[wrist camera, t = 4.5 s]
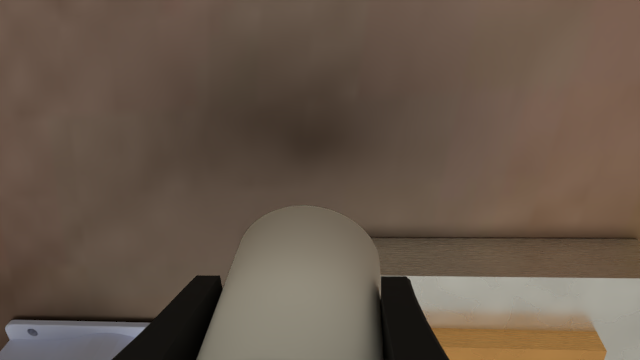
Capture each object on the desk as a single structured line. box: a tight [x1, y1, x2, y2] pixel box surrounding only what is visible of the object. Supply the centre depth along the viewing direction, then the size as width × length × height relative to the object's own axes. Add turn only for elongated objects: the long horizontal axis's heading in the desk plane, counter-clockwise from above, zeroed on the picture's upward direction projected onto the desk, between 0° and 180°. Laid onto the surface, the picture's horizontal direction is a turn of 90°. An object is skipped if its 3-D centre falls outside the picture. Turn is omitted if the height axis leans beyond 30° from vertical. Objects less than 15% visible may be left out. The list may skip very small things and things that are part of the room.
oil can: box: [196, 205, 384, 360], centre depth 11 cm, size 4×4×6 cm
